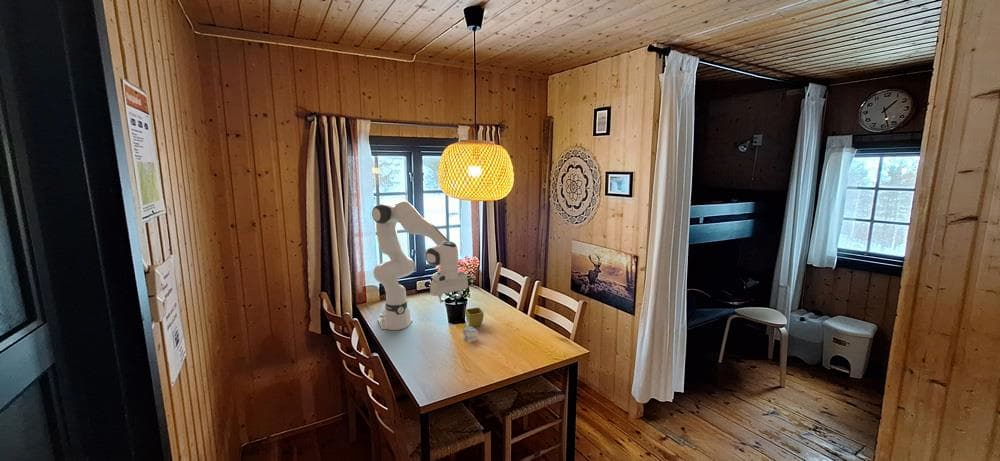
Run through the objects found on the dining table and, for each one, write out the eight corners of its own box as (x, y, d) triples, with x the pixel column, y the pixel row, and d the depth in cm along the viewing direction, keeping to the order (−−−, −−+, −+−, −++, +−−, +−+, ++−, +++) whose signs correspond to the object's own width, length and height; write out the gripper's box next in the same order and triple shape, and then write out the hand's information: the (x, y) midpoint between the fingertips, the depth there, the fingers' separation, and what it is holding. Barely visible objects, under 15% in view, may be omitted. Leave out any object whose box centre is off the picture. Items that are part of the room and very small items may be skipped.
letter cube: (471, 326, 214) (471, 335, 215) (463, 328, 211) (463, 338, 212) (477, 329, 209) (477, 339, 210) (468, 332, 206) (468, 342, 207)
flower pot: (484, 327, 227) (484, 312, 225) (469, 329, 224) (469, 314, 222) (479, 321, 235) (479, 307, 233) (465, 323, 232) (465, 309, 230)
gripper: (463, 269, 205) (464, 294, 208) (428, 275, 193) (429, 302, 196) (470, 271, 201) (470, 297, 203) (434, 279, 188) (435, 306, 191)
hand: (450, 300), depth 199 cm, fingers open, 8 cm apart
